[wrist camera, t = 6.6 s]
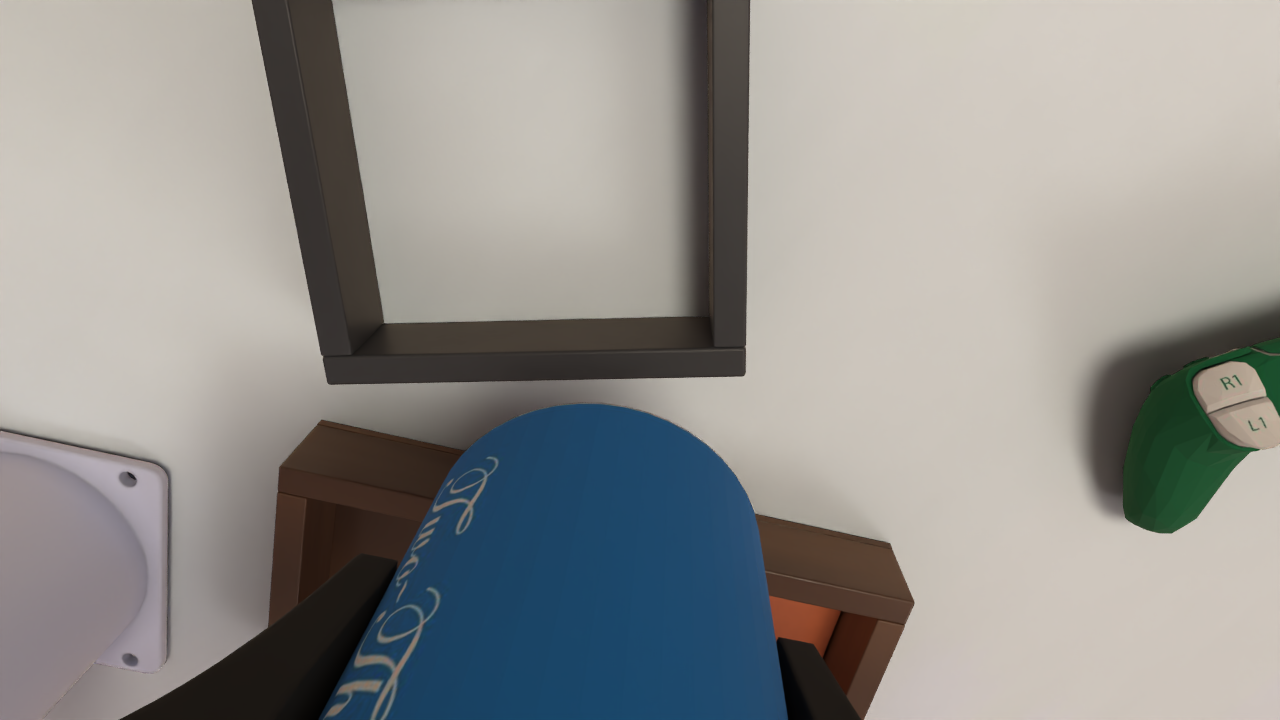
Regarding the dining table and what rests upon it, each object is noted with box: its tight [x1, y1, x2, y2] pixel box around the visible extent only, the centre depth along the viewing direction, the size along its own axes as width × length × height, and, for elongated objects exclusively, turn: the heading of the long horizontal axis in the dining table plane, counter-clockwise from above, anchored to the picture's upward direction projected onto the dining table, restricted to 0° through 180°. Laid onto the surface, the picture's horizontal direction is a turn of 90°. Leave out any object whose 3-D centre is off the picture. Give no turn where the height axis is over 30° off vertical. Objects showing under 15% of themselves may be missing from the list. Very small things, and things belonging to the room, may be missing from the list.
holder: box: [252, 0, 750, 385], centre depth 20 cm, size 11×11×2 cm
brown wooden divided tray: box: [268, 420, 914, 720], centre depth 25 cm, size 9×17×3 cm, turn 77°
